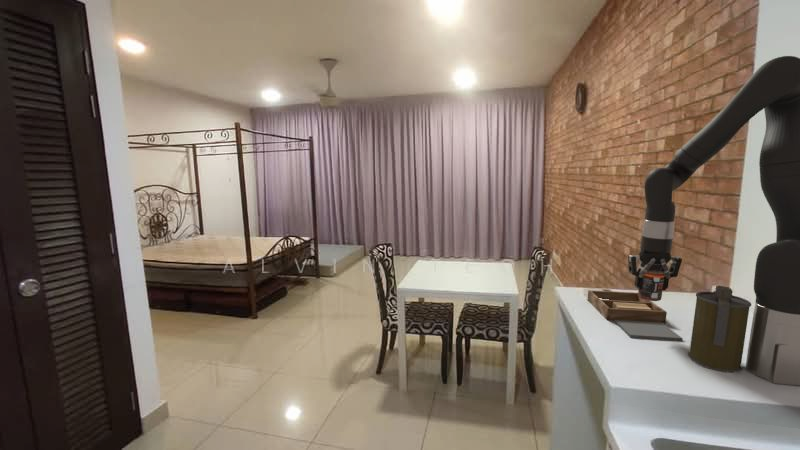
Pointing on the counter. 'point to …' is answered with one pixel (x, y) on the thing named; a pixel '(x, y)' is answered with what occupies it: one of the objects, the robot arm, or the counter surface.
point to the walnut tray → (625, 314)
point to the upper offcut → (630, 306)
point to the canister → (719, 330)
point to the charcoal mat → (647, 330)
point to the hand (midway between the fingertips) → (650, 288)
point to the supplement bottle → (652, 284)
